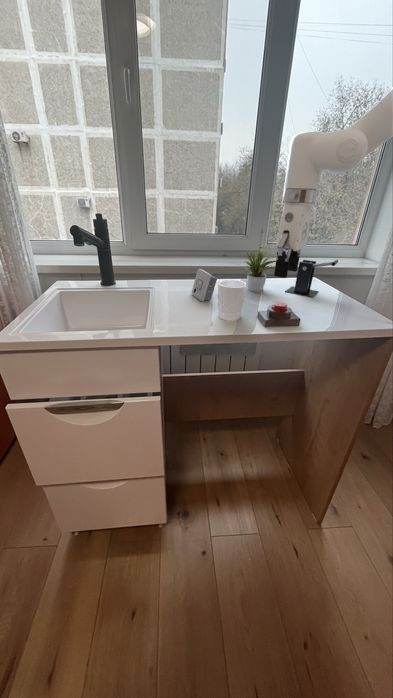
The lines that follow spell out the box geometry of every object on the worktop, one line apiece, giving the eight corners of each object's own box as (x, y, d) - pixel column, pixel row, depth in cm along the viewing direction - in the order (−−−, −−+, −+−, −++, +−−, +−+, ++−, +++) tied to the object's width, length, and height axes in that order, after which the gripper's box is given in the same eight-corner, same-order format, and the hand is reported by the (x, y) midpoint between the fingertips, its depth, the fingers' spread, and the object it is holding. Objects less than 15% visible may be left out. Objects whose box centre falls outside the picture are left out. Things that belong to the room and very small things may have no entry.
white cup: (210, 316, 85) (212, 283, 80) (226, 309, 90) (229, 278, 85) (232, 324, 80) (235, 289, 75) (247, 316, 85) (251, 283, 80)
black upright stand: (318, 294, 106) (325, 261, 100) (312, 300, 100) (320, 265, 94) (291, 289, 110) (297, 257, 105) (284, 294, 105) (290, 261, 99)
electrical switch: (190, 294, 103) (193, 268, 98) (204, 294, 105) (207, 268, 100) (201, 302, 95) (204, 274, 91) (214, 302, 97) (218, 275, 93)
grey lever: (338, 264, 97) (338, 257, 96) (335, 267, 93) (335, 260, 92) (305, 269, 103) (304, 262, 102) (301, 272, 100) (300, 265, 99)
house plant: (252, 301, 97) (258, 251, 89) (226, 290, 107) (230, 244, 99) (281, 294, 104) (289, 248, 96) (254, 285, 114) (260, 242, 106)
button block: (289, 316, 86) (291, 304, 84) (299, 326, 80) (302, 312, 78) (257, 317, 85) (258, 304, 83) (264, 327, 79) (266, 313, 77)
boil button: (283, 307, 82) (284, 301, 81) (288, 312, 79) (289, 306, 78) (271, 307, 82) (272, 302, 81) (275, 312, 79) (276, 306, 78)
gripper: (304, 199, 59) (288, 283, 67) (324, 198, 72) (309, 269, 80) (269, 197, 62) (259, 278, 71) (294, 197, 75) (283, 265, 84)
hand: (285, 273), depth 75 cm, fingers open, 7 cm apart
